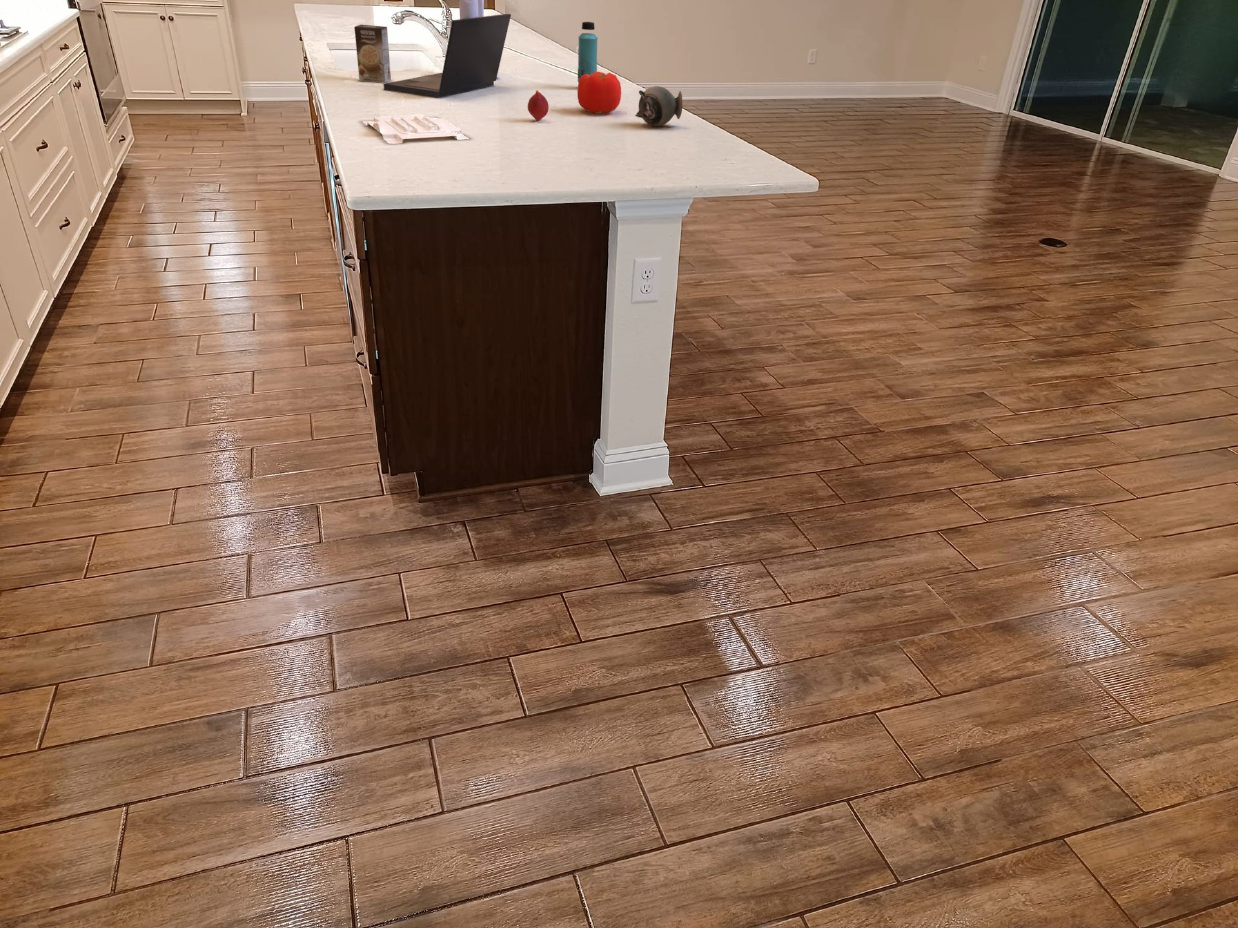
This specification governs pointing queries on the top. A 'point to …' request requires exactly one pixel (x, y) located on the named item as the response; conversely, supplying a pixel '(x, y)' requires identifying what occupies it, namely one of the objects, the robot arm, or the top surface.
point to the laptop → (428, 86)
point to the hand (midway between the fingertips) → (471, 65)
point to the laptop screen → (474, 51)
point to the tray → (413, 127)
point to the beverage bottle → (587, 51)
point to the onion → (538, 106)
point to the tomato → (599, 92)
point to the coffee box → (372, 53)
